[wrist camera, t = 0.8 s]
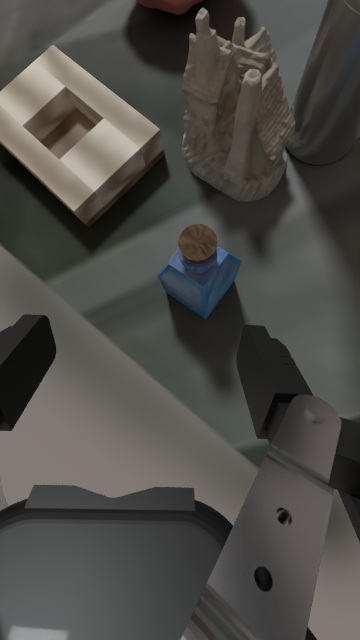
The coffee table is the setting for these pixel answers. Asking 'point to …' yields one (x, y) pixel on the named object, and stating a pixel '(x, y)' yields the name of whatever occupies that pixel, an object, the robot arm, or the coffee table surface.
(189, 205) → the coffee table surface
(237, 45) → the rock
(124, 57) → the coffee table surface
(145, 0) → the cell model
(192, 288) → the perfume bottle
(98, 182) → the socket plinth
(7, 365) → the robot arm
